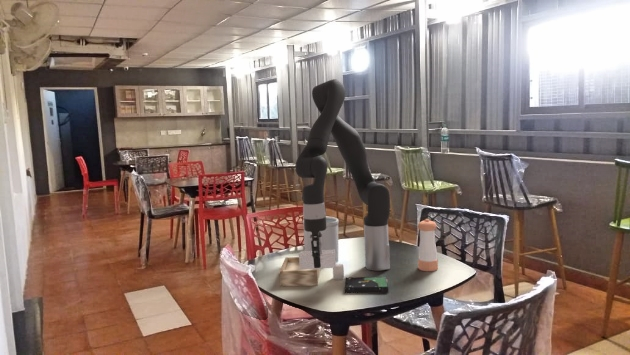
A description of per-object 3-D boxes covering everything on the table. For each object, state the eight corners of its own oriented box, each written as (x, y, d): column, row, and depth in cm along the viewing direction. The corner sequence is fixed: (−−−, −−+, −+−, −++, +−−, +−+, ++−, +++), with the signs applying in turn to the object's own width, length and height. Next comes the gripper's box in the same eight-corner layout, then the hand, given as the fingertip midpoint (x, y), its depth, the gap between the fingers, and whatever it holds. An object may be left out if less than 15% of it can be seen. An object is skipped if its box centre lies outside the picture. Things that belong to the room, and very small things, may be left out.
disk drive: (344, 295, 161) (389, 294, 160) (344, 287, 161) (388, 286, 159) (345, 284, 172) (387, 283, 170) (345, 277, 171) (387, 275, 170)
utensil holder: (332, 254, 209) (331, 214, 207) (345, 263, 195) (343, 220, 193) (300, 258, 205) (298, 218, 203) (311, 268, 191) (309, 225, 189)
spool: (344, 276, 178) (343, 263, 178) (344, 280, 175) (343, 267, 174) (333, 277, 179) (332, 264, 178) (333, 280, 175) (332, 267, 174)
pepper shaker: (441, 267, 183) (440, 218, 181) (431, 272, 178) (430, 221, 176) (424, 264, 188) (423, 216, 186) (414, 269, 183) (413, 219, 181)
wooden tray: (320, 270, 188) (319, 256, 187) (317, 285, 170) (317, 270, 170) (286, 271, 189) (285, 257, 188) (280, 286, 171) (279, 271, 171)
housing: (335, 263, 165) (334, 247, 164) (335, 267, 160) (334, 250, 160) (300, 265, 165) (299, 249, 165) (299, 269, 161) (298, 252, 160)
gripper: (325, 219, 154) (328, 271, 156) (326, 211, 168) (329, 258, 170) (301, 221, 154) (305, 272, 156) (304, 212, 168) (308, 259, 170)
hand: (317, 265), depth 163 cm, fingers closed on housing, 4 cm apart
